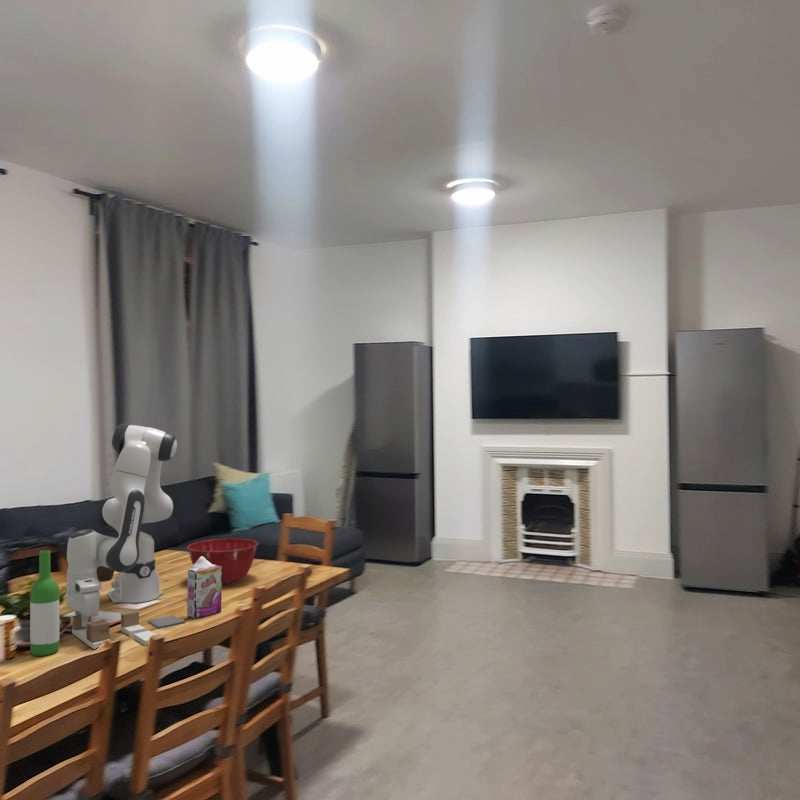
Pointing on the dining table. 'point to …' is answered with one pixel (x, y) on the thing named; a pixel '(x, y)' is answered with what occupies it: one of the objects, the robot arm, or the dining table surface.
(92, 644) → the strip
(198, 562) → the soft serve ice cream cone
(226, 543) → the mixing bowl
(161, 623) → the coaster
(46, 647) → the wine bottle
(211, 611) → the candy bar box
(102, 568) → the plant pot
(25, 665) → the dining table surface
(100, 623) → the cube
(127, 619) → the strip broken
